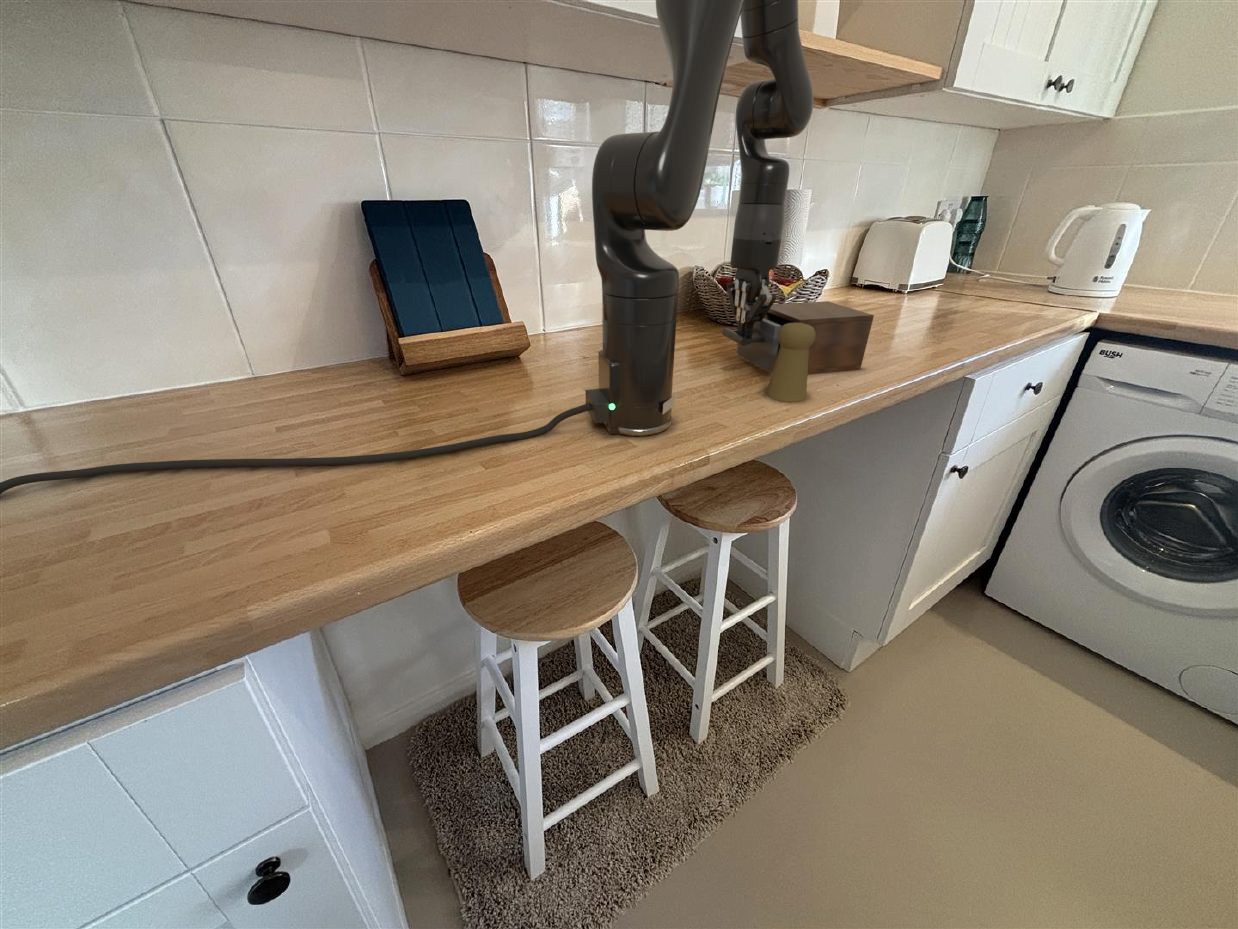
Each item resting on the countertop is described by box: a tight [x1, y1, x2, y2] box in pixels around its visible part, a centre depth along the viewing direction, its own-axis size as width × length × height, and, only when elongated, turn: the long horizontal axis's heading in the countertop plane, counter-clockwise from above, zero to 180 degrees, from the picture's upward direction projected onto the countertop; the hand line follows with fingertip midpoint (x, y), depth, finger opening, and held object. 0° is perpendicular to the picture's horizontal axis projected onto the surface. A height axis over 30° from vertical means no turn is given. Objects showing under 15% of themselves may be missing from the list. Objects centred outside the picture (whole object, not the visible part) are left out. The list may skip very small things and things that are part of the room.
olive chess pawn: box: [765, 323, 815, 403], centre depth 75 cm, size 6×6×11 cm
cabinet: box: [768, 300, 875, 375], centre depth 90 cm, size 15×13×10 cm
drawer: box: [721, 312, 794, 373], centre depth 88 cm, size 18×11×8 cm, turn 106°
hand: (743, 343), depth 87 cm, fingers closed
